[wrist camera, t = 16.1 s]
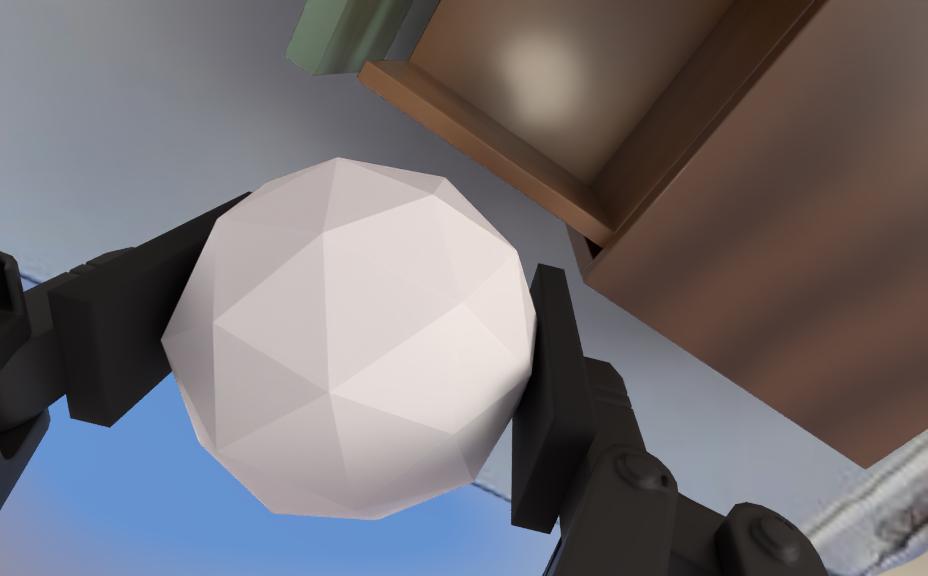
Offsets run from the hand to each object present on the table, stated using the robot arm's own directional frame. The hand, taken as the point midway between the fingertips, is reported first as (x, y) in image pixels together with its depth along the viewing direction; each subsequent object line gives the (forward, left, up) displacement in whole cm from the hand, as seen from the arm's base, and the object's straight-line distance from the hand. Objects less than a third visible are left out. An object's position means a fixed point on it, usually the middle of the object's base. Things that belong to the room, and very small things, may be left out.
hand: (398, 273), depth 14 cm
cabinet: (+14, +9, -15) cm, 22 cm away
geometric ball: (0, 0, 0) cm, 0 cm away
